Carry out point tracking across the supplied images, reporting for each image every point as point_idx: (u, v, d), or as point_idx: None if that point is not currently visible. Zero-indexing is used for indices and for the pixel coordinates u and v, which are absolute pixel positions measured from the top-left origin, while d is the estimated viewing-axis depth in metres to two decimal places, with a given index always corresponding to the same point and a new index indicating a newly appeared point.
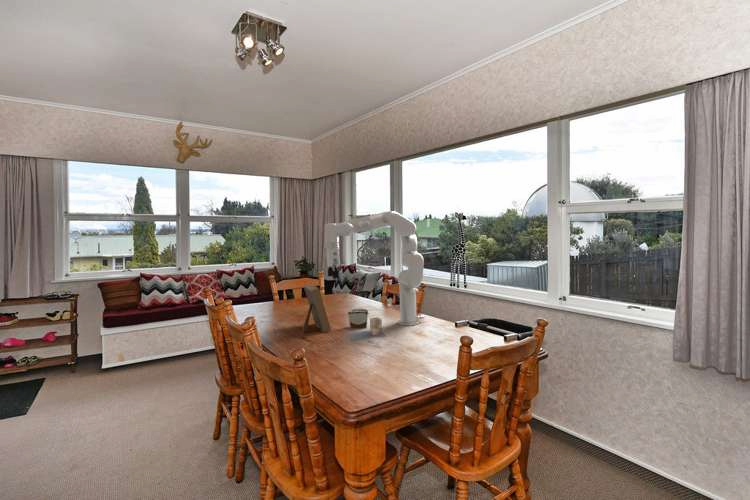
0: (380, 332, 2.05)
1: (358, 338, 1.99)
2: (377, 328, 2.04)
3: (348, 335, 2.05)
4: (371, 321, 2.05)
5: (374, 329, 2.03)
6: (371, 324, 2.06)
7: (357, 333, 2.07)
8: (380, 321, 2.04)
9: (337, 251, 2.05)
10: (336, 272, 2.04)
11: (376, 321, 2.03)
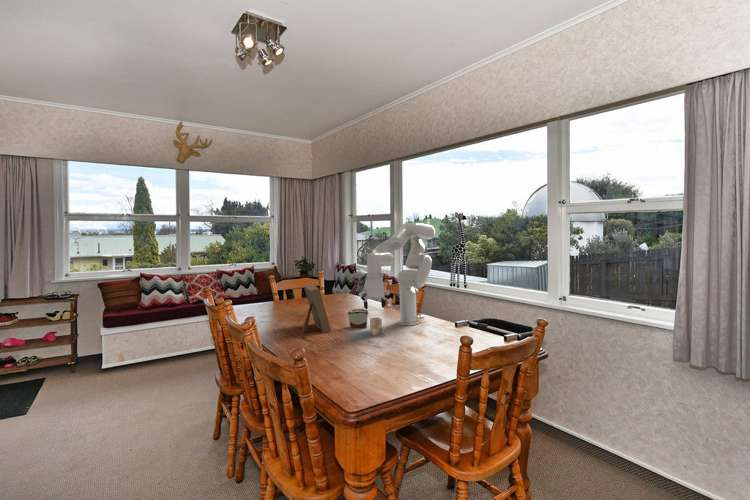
0: (380, 332, 2.05)
1: (358, 338, 1.99)
2: (377, 328, 2.04)
3: (348, 335, 2.05)
4: (371, 321, 2.05)
5: (374, 329, 2.03)
6: (371, 324, 2.06)
7: (357, 333, 2.07)
8: (380, 321, 2.04)
9: None
10: None
11: (376, 321, 2.03)
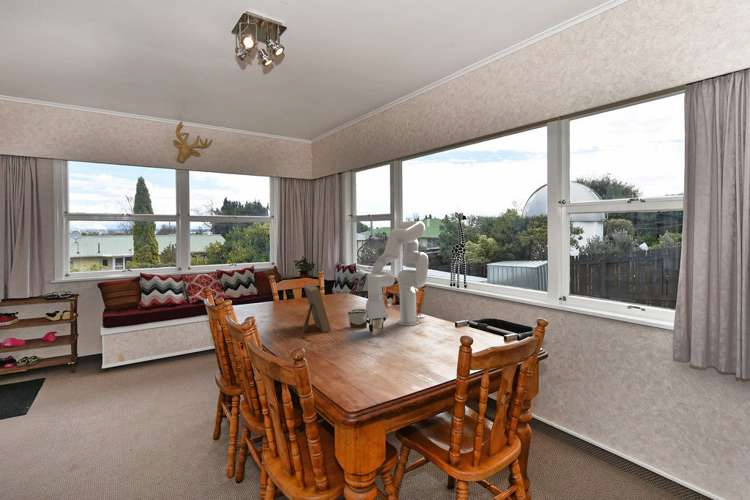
0: (380, 332, 2.05)
1: (358, 338, 1.99)
2: (377, 328, 2.04)
3: (348, 335, 2.05)
4: None
5: (374, 329, 2.03)
6: None
7: (357, 333, 2.07)
8: (380, 321, 2.04)
9: None
10: None
11: (376, 321, 2.03)
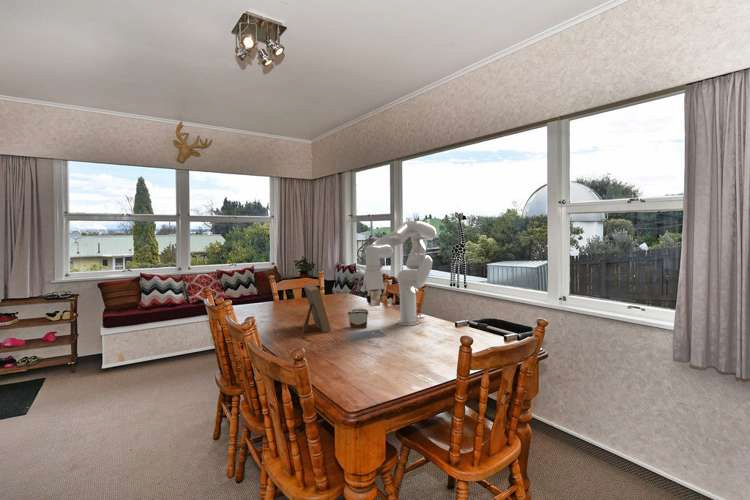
0: (378, 303, 2.03)
1: (358, 338, 1.99)
2: (375, 300, 2.03)
3: (348, 335, 2.05)
4: None
5: (372, 300, 2.02)
6: None
7: (357, 333, 2.07)
8: (378, 292, 2.03)
9: None
10: None
11: (374, 292, 2.02)
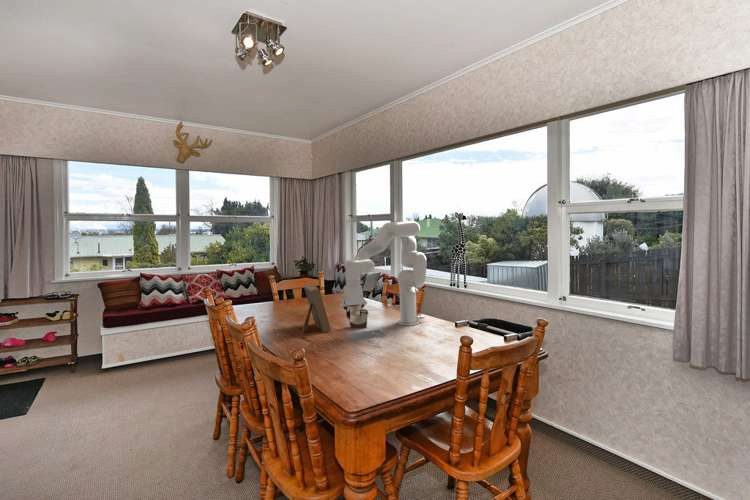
0: (358, 319, 2.00)
1: (358, 338, 1.99)
2: (355, 315, 1.99)
3: (348, 335, 2.05)
4: None
5: (351, 316, 1.99)
6: None
7: (357, 333, 2.07)
8: (358, 308, 2.00)
9: None
10: None
11: (354, 308, 1.99)
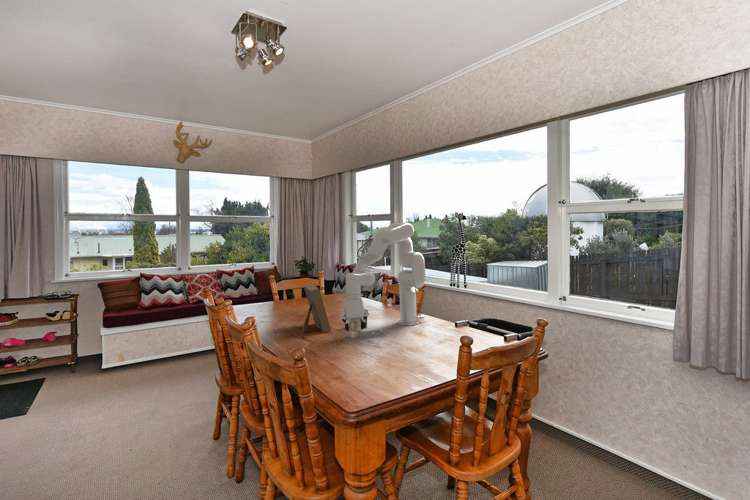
0: (359, 335, 2.01)
1: (358, 338, 1.99)
2: (356, 331, 2.00)
3: (348, 335, 2.05)
4: (350, 324, 2.01)
5: (352, 332, 1.99)
6: (350, 327, 2.02)
7: None
8: (359, 324, 2.00)
9: None
10: None
11: (354, 324, 1.99)
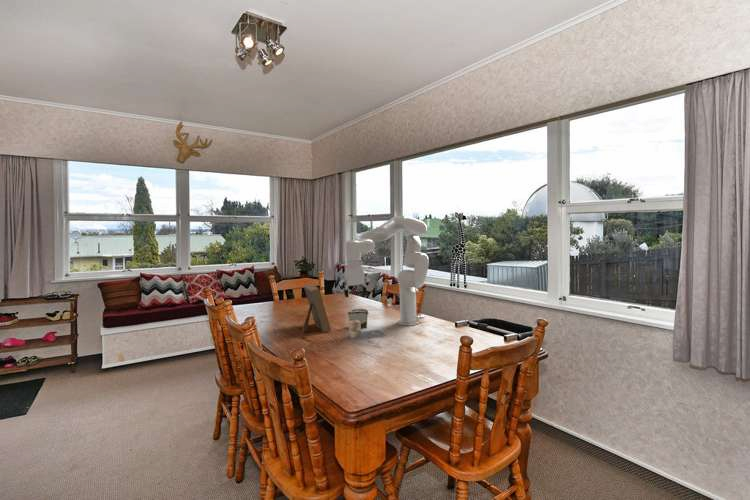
0: (359, 335, 2.01)
1: (358, 338, 1.99)
2: (356, 331, 2.00)
3: (348, 335, 2.05)
4: (350, 324, 2.01)
5: (352, 332, 1.99)
6: (350, 327, 2.02)
7: None
8: (359, 324, 2.00)
9: None
10: None
11: (354, 324, 1.99)
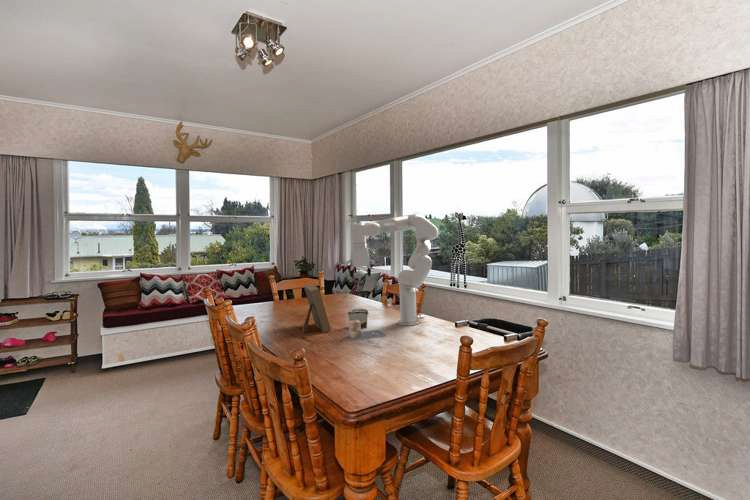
0: (359, 335, 2.01)
1: (358, 338, 1.99)
2: (356, 331, 2.00)
3: (348, 335, 2.05)
4: (350, 324, 2.01)
5: (352, 332, 1.99)
6: (350, 327, 2.02)
7: None
8: (359, 324, 2.00)
9: None
10: None
11: (354, 324, 1.99)
